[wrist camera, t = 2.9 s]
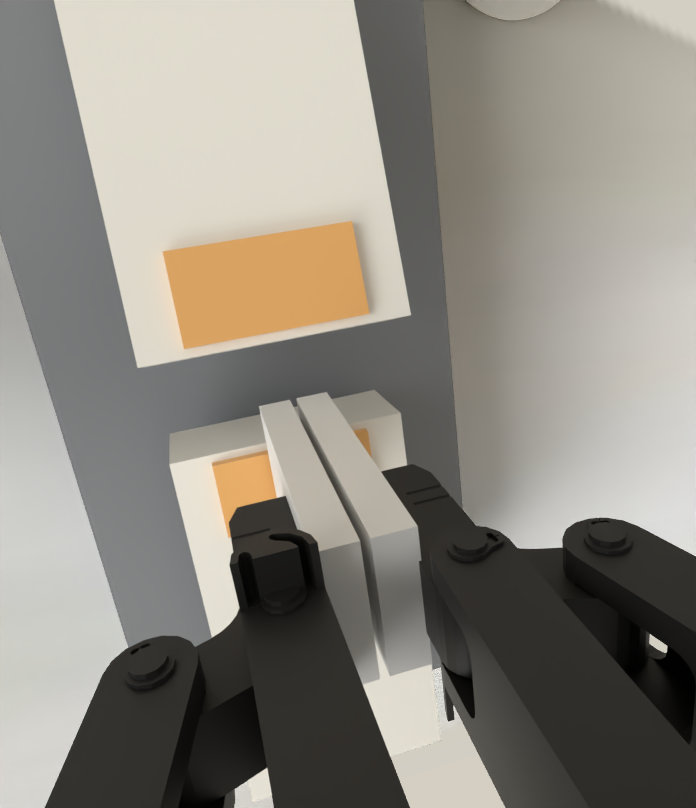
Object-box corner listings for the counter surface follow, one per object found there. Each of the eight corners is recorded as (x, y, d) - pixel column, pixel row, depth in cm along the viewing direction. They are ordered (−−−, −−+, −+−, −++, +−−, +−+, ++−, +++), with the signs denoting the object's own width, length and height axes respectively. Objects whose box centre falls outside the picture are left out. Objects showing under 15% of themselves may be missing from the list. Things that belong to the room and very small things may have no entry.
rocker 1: (147, 367, 16) (136, 367, 13) (38, -115, 15) (2, -216, 12) (382, 321, 17) (414, 314, 15) (298, -129, 16) (316, -223, 13)
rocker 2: (244, 742, 22) (253, 809, 19) (169, 433, 18) (169, 467, 16) (414, 688, 23) (444, 746, 21) (374, 389, 20) (403, 415, 17)
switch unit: (161, 643, 29) (160, 783, 22) (-50, -95, 19) (-163, -238, 13) (430, 569, 31) (502, 675, 25) (360, -119, 22) (447, -250, 15)
